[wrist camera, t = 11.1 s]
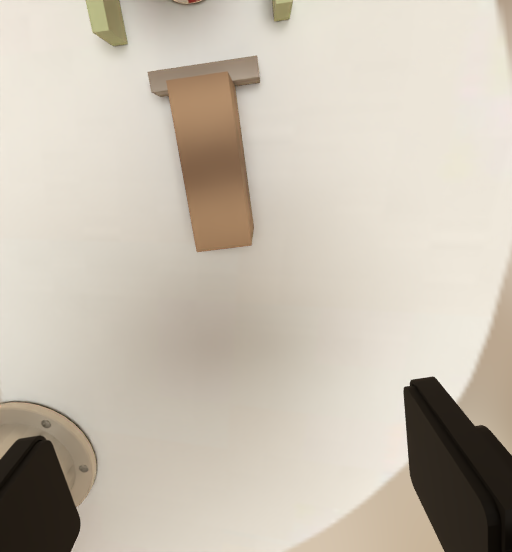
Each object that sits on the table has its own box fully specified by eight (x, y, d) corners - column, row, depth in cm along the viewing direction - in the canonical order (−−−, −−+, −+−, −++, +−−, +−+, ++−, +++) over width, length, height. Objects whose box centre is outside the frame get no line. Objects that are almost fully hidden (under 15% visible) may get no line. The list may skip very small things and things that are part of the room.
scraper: (276, 224, 31) (279, 242, 26) (186, 235, 32) (169, 255, 26) (257, 63, 28) (256, 42, 22) (157, 78, 28) (131, 61, 23)
